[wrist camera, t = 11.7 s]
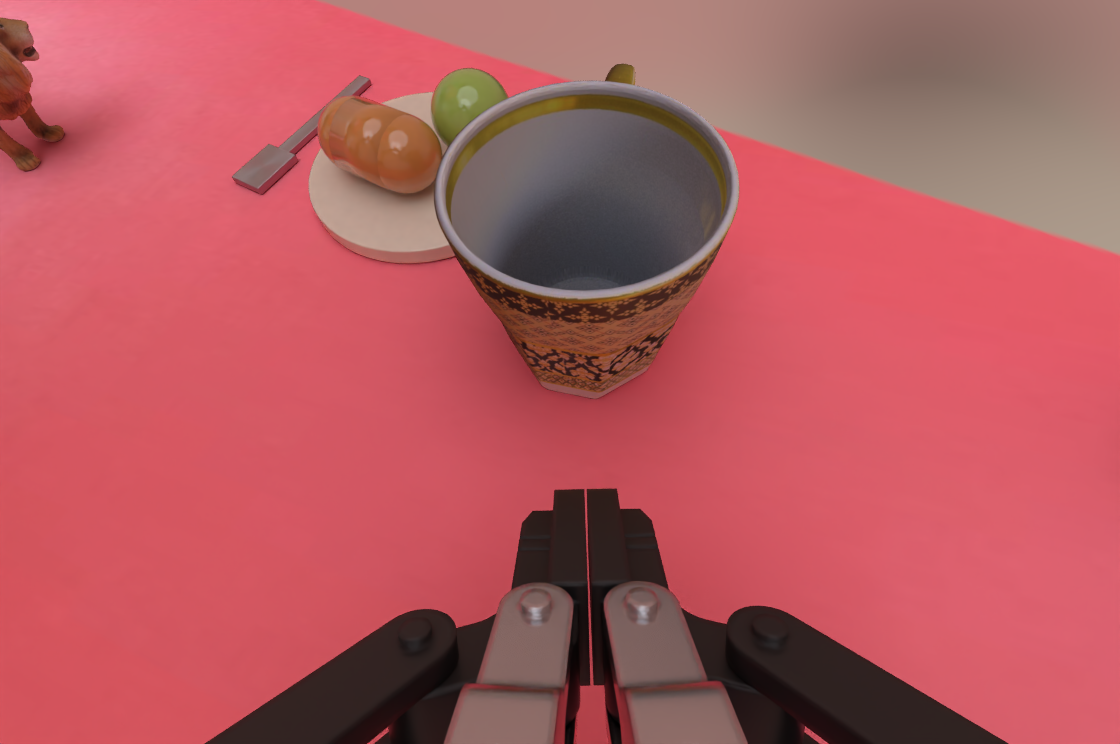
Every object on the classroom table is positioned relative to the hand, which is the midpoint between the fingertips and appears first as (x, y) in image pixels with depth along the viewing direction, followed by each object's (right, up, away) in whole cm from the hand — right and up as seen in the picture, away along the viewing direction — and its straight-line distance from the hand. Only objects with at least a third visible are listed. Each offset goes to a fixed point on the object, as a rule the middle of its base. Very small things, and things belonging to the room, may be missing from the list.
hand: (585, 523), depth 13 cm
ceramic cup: (+1, +6, +15) cm, 16 cm away
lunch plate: (-8, +15, +20) cm, 26 cm away
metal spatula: (-16, +19, +22) cm, 33 cm away
